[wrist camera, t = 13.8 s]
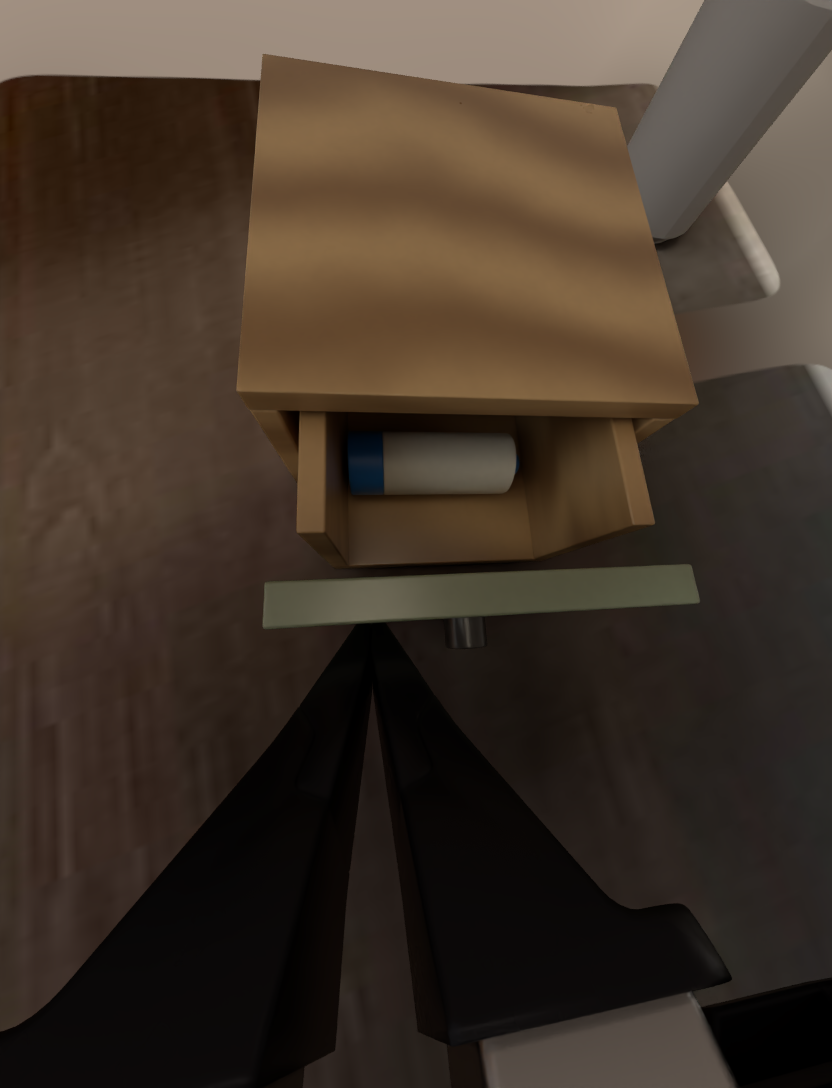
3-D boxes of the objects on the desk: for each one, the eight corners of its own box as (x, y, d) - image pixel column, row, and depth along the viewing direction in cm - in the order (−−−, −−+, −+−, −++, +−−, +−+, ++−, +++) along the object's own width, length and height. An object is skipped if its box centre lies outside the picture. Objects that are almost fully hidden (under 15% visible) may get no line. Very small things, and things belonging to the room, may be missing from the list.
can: (667, 186, 27) (886, -139, 15) (693, 253, 25) (957, -51, 14) (589, 180, 26) (759, -171, 14) (611, 250, 24) (821, -80, 13)
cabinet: (542, 506, 19) (700, 403, 10) (313, 510, 17) (235, 390, 8) (515, 323, 22) (616, 107, 12) (317, 311, 20) (262, 52, 11)
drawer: (559, 630, 16) (712, 646, 9) (320, 646, 15) (258, 681, 7) (526, 403, 19) (620, 270, 12) (323, 398, 18) (280, 241, 10)
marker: (509, 503, 16) (499, 452, 17) (534, 474, 14) (522, 415, 15) (353, 505, 15) (353, 451, 16) (347, 474, 13) (347, 411, 14)
